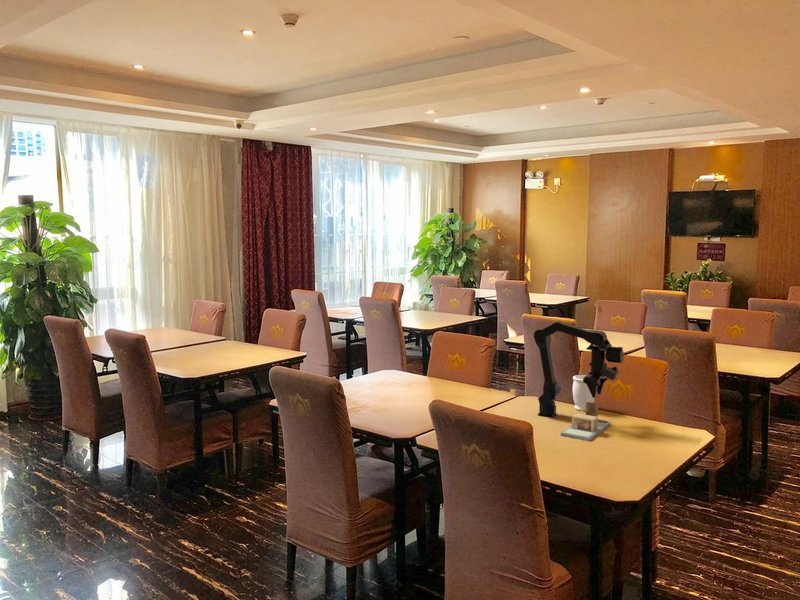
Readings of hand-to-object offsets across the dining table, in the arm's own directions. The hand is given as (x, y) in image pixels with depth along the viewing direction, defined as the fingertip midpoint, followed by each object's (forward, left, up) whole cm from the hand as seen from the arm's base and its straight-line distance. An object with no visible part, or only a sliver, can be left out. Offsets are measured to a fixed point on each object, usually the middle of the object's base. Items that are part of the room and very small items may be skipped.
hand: (596, 395), depth 280 cm
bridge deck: (0, -12, -12) cm, 17 cm away
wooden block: (0, -11, -10) cm, 15 cm away
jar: (-12, +18, -12) cm, 25 cm away
